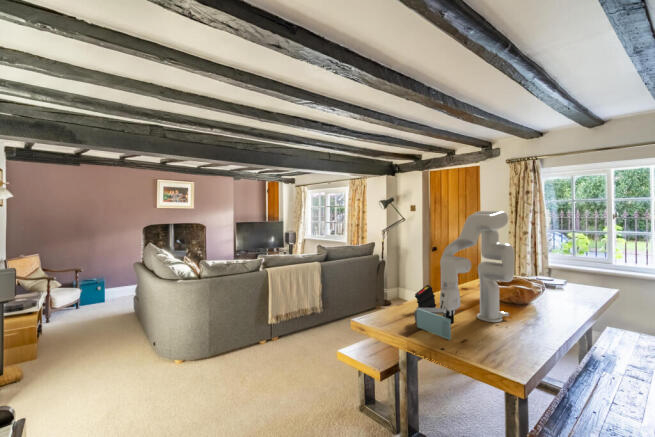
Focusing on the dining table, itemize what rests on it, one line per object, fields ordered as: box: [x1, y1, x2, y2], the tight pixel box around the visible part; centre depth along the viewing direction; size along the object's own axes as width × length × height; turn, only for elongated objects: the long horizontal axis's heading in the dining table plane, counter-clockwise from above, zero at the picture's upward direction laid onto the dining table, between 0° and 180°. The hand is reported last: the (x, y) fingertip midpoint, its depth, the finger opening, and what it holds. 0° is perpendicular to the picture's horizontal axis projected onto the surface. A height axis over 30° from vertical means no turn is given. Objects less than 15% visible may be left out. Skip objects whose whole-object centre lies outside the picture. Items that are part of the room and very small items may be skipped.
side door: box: [416, 307, 452, 341], centre depth 149 cm, size 20×2×10 cm, turn 33°
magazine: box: [414, 284, 437, 308], centre depth 183 cm, size 4×13×15 cm, turn 113°
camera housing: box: [413, 307, 446, 323], centre depth 161 cm, size 15×7×8 cm, turn 85°
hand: (449, 323), depth 145 cm, fingers closed
